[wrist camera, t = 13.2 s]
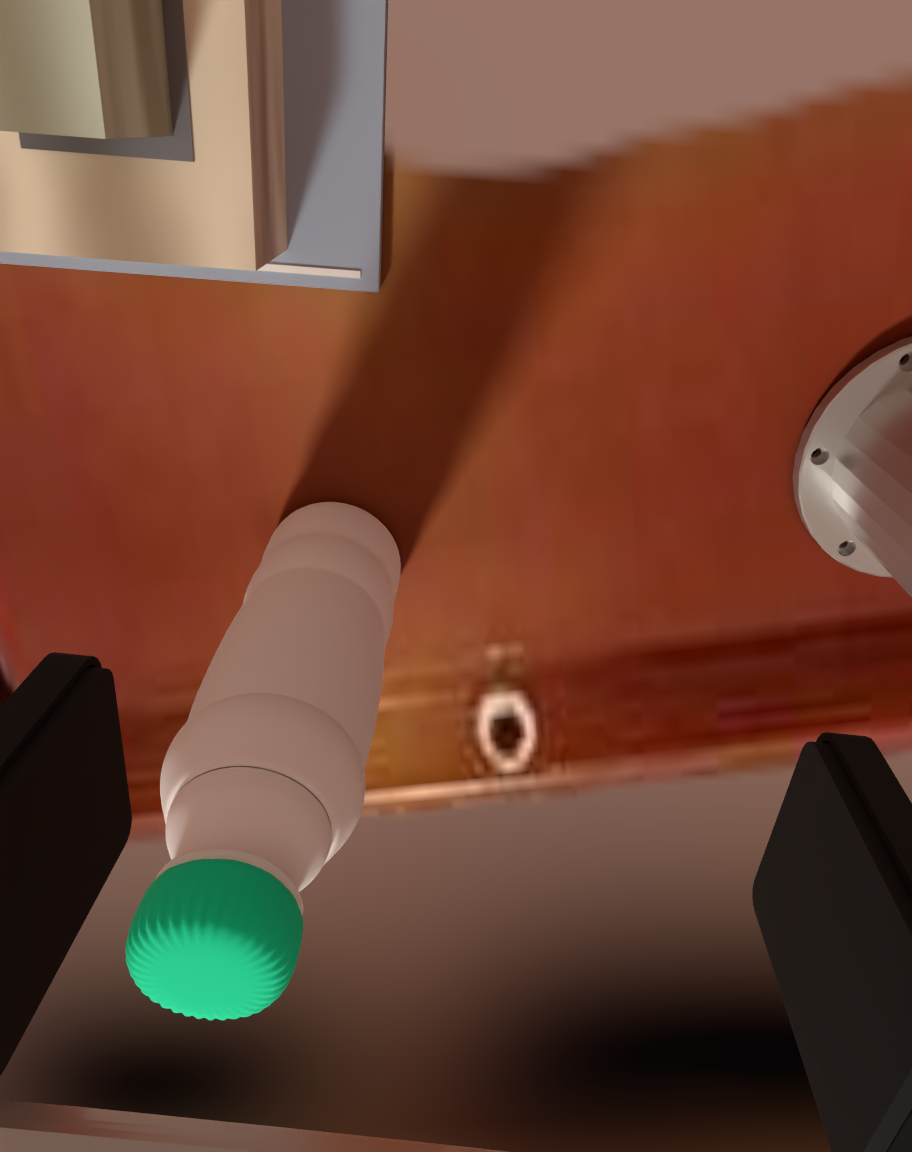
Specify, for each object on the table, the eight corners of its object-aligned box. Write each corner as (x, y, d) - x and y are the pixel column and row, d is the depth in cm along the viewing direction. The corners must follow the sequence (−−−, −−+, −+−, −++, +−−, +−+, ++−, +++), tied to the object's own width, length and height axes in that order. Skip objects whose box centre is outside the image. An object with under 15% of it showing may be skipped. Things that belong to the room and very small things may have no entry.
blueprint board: (392, -171, 30) (389, -180, 29) (380, 288, 38) (378, 292, 37) (-108, -214, 30) (-128, -226, 29) (-18, 257, 37) (-31, 261, 36)
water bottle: (267, 491, 43) (50, 881, 21) (404, 501, 43) (332, 898, 21) (272, 609, 46) (91, 1051, 24) (399, 617, 46) (333, 1064, 24)
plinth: (277, -134, 30) (235, -191, 24) (287, 249, 36) (255, 271, 31) (-2, -159, 30) (-107, -221, 24) (56, 231, 36) (-17, 250, 31)
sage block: (159, -27, 26) (81, -64, 21) (173, 136, 29) (105, 138, 23) (14, -39, 26) (-100, -79, 21) (39, 125, 29) (-59, 126, 23)
